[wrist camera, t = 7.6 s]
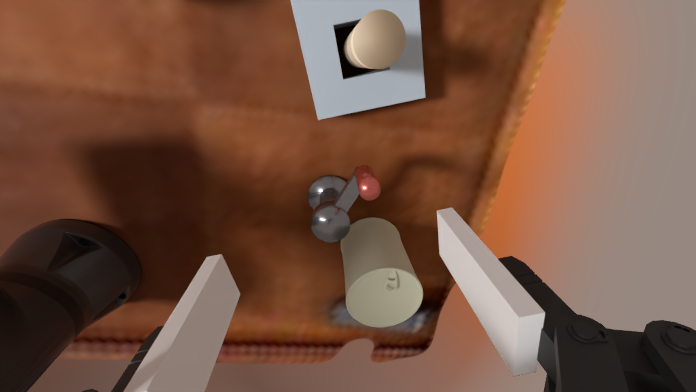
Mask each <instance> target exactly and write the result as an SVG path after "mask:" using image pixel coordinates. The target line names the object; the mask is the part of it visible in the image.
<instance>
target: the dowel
mask: <svg viewBox="0 0 696 392" xmlns="http://www.w3.org/2000/svg"><path fill="white" fill-rule="evenodd" d="M405 42H406V34H405V29H404V26H403V24H402V22H401V20H400V19H399V18H398V17H397V16H396V15H395V14H394V13H392V12H390V11H388V10H382V9H379V10H374V11H371V12H369V13H368V14H366V15H365V16H364V17H363V18H362V19H361V20H360V22H359V23H358V24H357V25H356V27H355V28H354V29H353V31H352V32H351V33H350V34H349V36H348V37H347V38H346V40H345V42H344V44H343V56H344V58H345V60H346V62H347V63H348V64H349V65H351V66H353V67H357V68H370V69H384V68H387V67H389V66H391V65H393V64H394V63H395V62H396V61H397V60H398V59H399V58H400V56H401V54H402V53H403V50H404V47H405Z"/></svg>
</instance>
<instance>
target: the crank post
mask: <svg viewBox="0 0 696 392" xmlns="http://www.w3.org/2000/svg"><path fill="white" fill-rule="evenodd" d="M346 183H347V182H346V181H345V180H344V179H342V178H340V177H338V176H334V175H326V176H322V177H320V178H318V179H316V180H315V181H314V182H313V183H312V185H311V186H310V188H309V192H308V201H309V204H310V206H311V207H312V209H313V210H314V209H315V208H316V207H317V206H318V205H319V204H321V203H322V202H325V201H335V200H336V198H337V197H338V195H339V193H340V192H341V190H342V189H343V187H344V186H345V184H346Z"/></svg>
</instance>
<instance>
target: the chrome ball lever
mask: <svg viewBox="0 0 696 392" xmlns="http://www.w3.org/2000/svg"><path fill="white" fill-rule="evenodd" d="M380 192H381V188H380V185H379V183H378V181H377V178H376V176H375V174H374V172H373V170H372V168H371V167H370V166H367V165H362V166H360V167H356V169H355V170H354V172H353V173H352V175H351V176H350V178H349V179H348V181H347V183H346V184H345V186H344V187H343V189H342V190H341V192H340V193H339V195H338V197H337V198H336V200H335V201H325V202H322V203H321V204H319V205H318V206H317V207H316V208H315V209H314V211H313V214H312V224H311V227H312V231H313V233H314V235H315V236H316V237H317V238H318V239H320V240H322V241H325V242H337V241H339V240H341V239H343V238H344V237H345V236H346V235H347V234H348V233H349V230H350V218H349V212H348V210H349V209H350V207H351V206H352V204H353V203H354V201H355V200H356V198H357V197H358V195H359V194H360V196H361V197H362V198H363V199H365V200H368V201H370V200H374V199H376V198H377V197H378V196H379V195H380Z"/></svg>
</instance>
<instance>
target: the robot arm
mask: <svg viewBox="0 0 696 392" xmlns="http://www.w3.org/2000/svg"><path fill="white" fill-rule="evenodd" d="M437 221H438V238H439V254H440V256H441V258H442V260H443V261H444V263H445V265H446V266H447V268H448V269H449V271H450V273H451V274H452V276H453V278H454V279H455V281H456V283H457V284H458V286H459V288H460V289H461V291H462V293H463V294H464V296H465V298H466V299H467V301H468V303H469V304H470V306H471V308H472V309H473V311H474V312H475V314H476V316H477V317H478V319H479V321H480V323H481V324H482V326H483V327H484V329H485V331H486V333H487V334H488V336H489V338H490V339H491V341H492V342H493V344H494V346H495V347H496V349H497V351H498V352H499V354H500V355H501V357H502V359H503V361H504V362H505V364H506V366H507V367H508V369H509V371H510V372H511V374H512V376H519V375H524V374H530V373H535V372H536V369H537V363H538V361H539V363H540V364H541V366H542V367H543V368H544V370H545V371H546V372H547V377H546V383H545V388H544V392H696V331H695V330H693V329H692V328H689V327H687V326H684V325H681V324H678V323H675V322H670V321H664V320H660V321H652V322H650V323H649V324H647V325H646V327H645V330H644V332H634V331H623V330H613V329H606V328H605V327H604V326H603V325H602V324H600V323H598V322H597V321H595V320H593V319H591V318H588V317H585V316H582V315H577V314H576V313H575V312H574V311H572V310H571V309H570V308H569V307H568V306H567V305H566V304H565V303H564V302H563V301H562V300H561V299H560V298H559V297H558V296H557V295H556V294H555V293H554V292H553V291H552V290H551V289H550V288H549V287H548V286H547V285H546V284H545V283H543V282H542V280H541V279H540V278H539V277H538V276H537V275H535V274H534V272H533V271H532V270H531V269H530V268H529V267H528V266H527V265H526V264H525V263H523V262H522V261H520V260H518V259H516V258H514V257H512V256H509V257H504V258H499V259H497V258H496V257H495V255H494V254H493V253H492V252H491V251H490V250H489V249H488V248H487V247H486V245H485V244H484V243H483V242H482V241H481V240H480V239H479V237H478V236H477V235H476V234H475V233H474V232H473V231H472V230H471V228H470V227H469V226H468V225H467V224H466V223H465V222H464V221H463V219H462V218H461V217H460V216H459V215H458V214H457V213H456V212H455V210H454V209H453V208H447V209H442V210H437ZM140 280H141V268H140V264H139V262H138V260H137V258H136V256H135V254H134V253H133V251H132V250H131V249H130V248H129V247H128V246H127V245H126V244H125V243H124V242H123V241H122V240H121V239H120V238H118V237H117V236H115V235H114V234H112V233H111V232H109V231H107V230H105V229H103V228H101V227H99V226H96V225H93V224H90V223H87V222H83V221H77V220H54V221H49V222H46V223H43V224H40V225H39V226H37V227H35V228H33V229H31V230H30V231H28V232H26V233H24V234H23V235H21V236H20V237H19V238H18V239H16V240H15V241H14V242H13V244H12V245H11V246H10V247H9V248H8V249H7V251H6V252H5V253H4V254H3V255H2V256H1V257H0V392H27V391H28V390H29V389H30V388H31V387H32V385H33V384H34V383H35V382H36V381H37V380H38V379H39V378H40V377H41V375H42V374H43V373H44V372H45V371H46V370H47V369H48V368H49V367H50V366H51V364H52V363H53V362H54V361H55V360H56V359H57V358H58V357H59V356H60V354H61V353H62V352H63V351H64V350H65V349H66V348H67V347H68V346H69V344H70V343H71V342H72V341H73V340H74V339H75V338H76V337H77V336H78V335H79V333H80V332H81V331H82V330H84V329H85V328H87V327H88V326H90V325H91V324H93V323H95V322H96V321H98V320H99V319H101V318H103V317H104V316H106V315H107V314H109V313H111V312H112V311H114V310H115V309H117V308H118V307H120V306H121V305H122V304H124V303H125V302H126V301H127V300H128V299H129V297H130V296H131V295H132V294H133V293H134V292H135V290H136V289H137V287H138V286H139V283H140ZM239 297H240V292H239V290H238V288H237V286H236V284H235V281H234V279H233V277H232V275H231V273H230V271H229V269H228V266H227V264H226V262H225V260H224V258H223V256H222V254H219V255H214V256H209V257H206V259H205V261H204V262H203V264H202V266H201V267H200V269H199V270H198V272H197V274H196V275H195V277H194V278H193V280H192V282H191V283H190V285H189V287H188V288H187V290H186V291H185V293H184V295H183V296H182V298H181V299H180V301H179V303H178V304H177V306H176V308H175V309H174V311H173V312H172V314H171V316H170V317H169V319H168V320H167V322H166V324H165V325H164V326H160V327H157V328H156V329H155V330H154V331H153V332H152V333H151V334H150V335H149V336H148V337H147V338H146V340H145V341H144V343H143V344H142V346H141V347H140V349H139V350H138V354H136V355H135V356H134V358H133V359H132V361H131V364H130V365H129V366H128V367H127V369H126V370H125V372H124V373H123V375H122V376H121V378H120V379H119V381H118V382H117V384H116V385H115V387H114V388H113V390H112V391H111V392H204V391H205V389H206V386H207V383H208V381H209V377H210V375H211V372H212V370H213V367H214V364H215V362H216V359H217V356H218V354H219V351H220V348H221V346H222V343H223V340H224V337H225V335H226V332H227V329H228V327H229V324H230V321H231V319H232V316H233V313H234V311H235V308H236V305H237V302H238V300H239ZM82 392H98V391H96V390H94V389H90V390H85V391H82Z"/></svg>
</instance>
